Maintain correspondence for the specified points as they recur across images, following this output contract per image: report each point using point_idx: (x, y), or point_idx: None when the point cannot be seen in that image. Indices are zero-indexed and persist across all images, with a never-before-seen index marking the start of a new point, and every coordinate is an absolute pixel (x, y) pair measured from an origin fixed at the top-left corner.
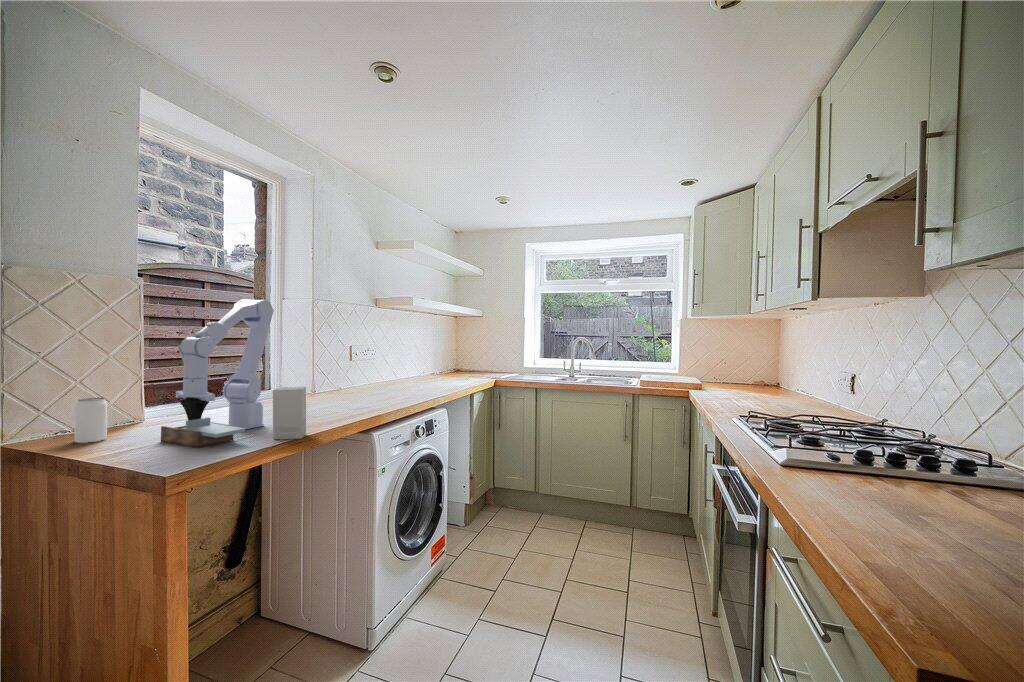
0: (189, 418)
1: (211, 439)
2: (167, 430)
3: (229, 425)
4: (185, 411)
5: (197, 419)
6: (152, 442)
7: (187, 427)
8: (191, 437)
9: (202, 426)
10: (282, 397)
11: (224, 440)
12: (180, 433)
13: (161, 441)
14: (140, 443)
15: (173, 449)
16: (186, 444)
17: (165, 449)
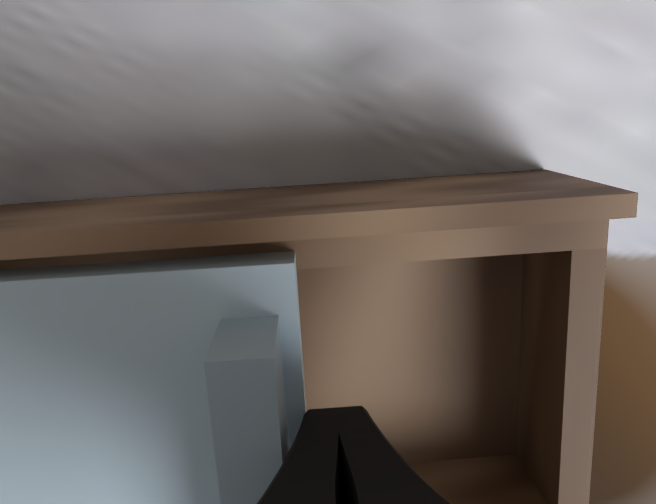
0: (335, 440)
1: None
2: (482, 195)
3: None
4: (441, 497)
5: (235, 488)
6: (580, 109)
7: (243, 320)
8: (14, 221)
9: (183, 453)
10: None
11: None
12: (218, 211)
13: (534, 170)
14: (643, 25)
15: (104, 64)
16: (133, 199)
17: (169, 22)
